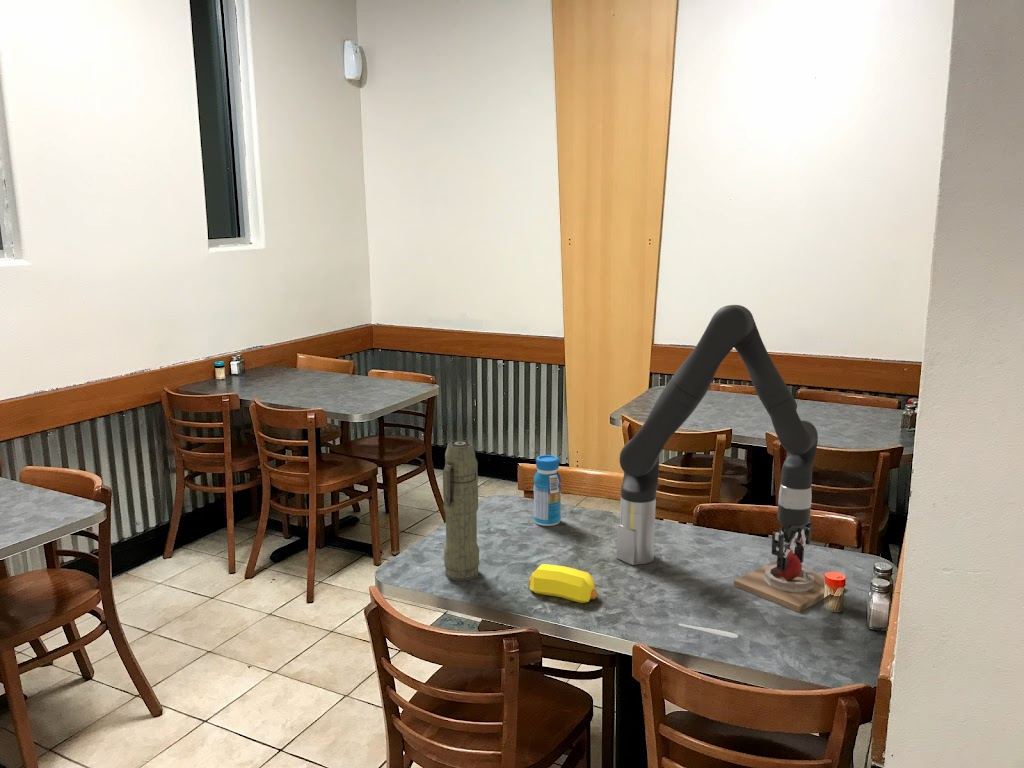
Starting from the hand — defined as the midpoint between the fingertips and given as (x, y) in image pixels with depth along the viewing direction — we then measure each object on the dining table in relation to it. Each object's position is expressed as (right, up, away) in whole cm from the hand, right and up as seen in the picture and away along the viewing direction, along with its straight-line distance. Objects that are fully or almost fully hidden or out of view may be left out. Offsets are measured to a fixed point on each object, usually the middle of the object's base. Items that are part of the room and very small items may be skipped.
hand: (789, 566), depth 202 cm
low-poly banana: (-56, -7, -2) cm, 57 cm away
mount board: (0, -5, +1) cm, 6 cm away
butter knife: (-31, -10, -17) cm, 37 cm away
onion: (0, -4, +1) cm, 4 cm away
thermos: (-82, -4, +9) cm, 82 cm away
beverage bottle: (-58, +3, +44) cm, 73 cm away
